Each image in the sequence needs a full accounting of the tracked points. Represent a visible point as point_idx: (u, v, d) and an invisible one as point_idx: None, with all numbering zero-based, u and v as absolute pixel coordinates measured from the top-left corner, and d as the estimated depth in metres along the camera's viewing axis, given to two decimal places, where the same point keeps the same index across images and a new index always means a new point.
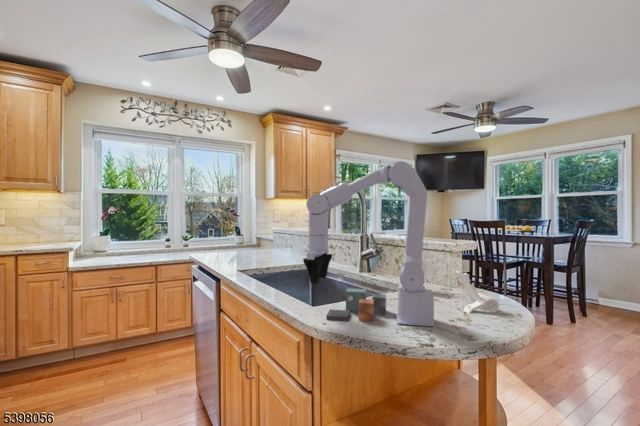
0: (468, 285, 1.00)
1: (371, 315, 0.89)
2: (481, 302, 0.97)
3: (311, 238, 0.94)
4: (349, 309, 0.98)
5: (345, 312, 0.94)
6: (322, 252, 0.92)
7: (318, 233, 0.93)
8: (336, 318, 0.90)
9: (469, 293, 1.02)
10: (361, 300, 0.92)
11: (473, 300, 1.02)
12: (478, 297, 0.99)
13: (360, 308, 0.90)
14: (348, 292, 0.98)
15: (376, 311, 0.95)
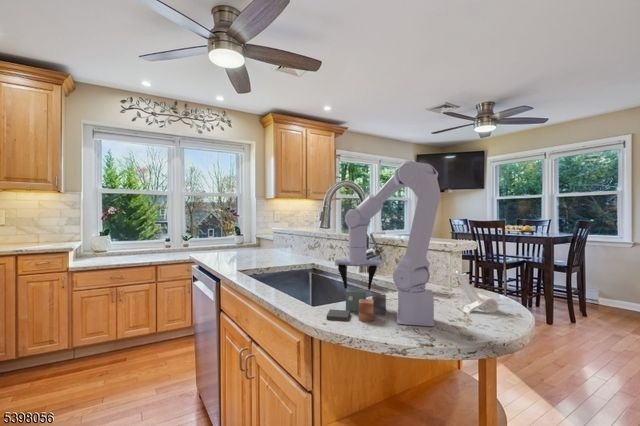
0: (467, 285, 0.99)
1: (371, 315, 0.89)
2: (480, 302, 0.97)
3: None
4: (349, 309, 0.98)
5: (345, 312, 0.94)
6: (347, 262, 1.03)
7: (353, 245, 1.02)
8: (336, 318, 0.90)
9: (468, 293, 1.02)
10: (361, 300, 0.92)
11: (472, 300, 1.02)
12: (477, 297, 0.99)
13: (360, 308, 0.90)
14: (348, 292, 0.98)
15: (376, 311, 0.95)
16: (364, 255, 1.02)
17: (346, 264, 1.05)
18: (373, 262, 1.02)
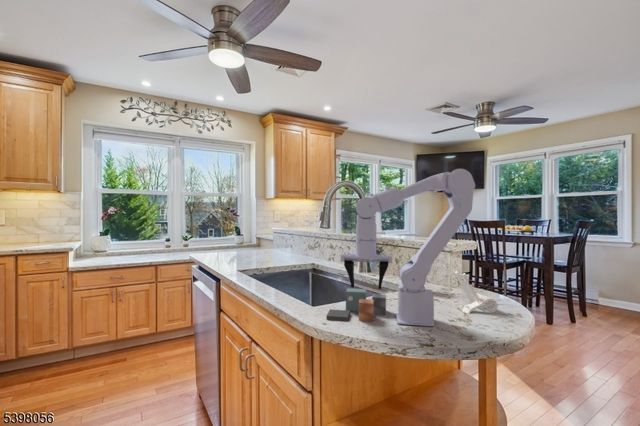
0: (467, 285, 0.99)
1: (371, 315, 0.89)
2: (480, 302, 0.97)
3: None
4: (349, 309, 0.98)
5: (345, 312, 0.94)
6: (355, 257, 0.90)
7: (368, 238, 0.88)
8: (336, 318, 0.90)
9: (467, 293, 1.02)
10: (361, 300, 0.92)
11: (471, 300, 1.02)
12: (477, 297, 0.99)
13: (360, 308, 0.90)
14: (348, 292, 0.98)
15: (376, 311, 0.95)
16: (374, 249, 0.89)
17: (353, 260, 0.92)
18: (384, 257, 0.89)
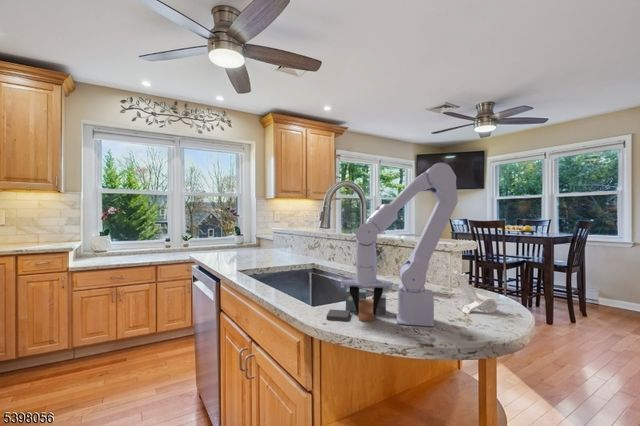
0: (466, 285, 0.99)
1: (371, 315, 0.89)
2: (479, 302, 0.97)
3: None
4: (349, 309, 0.98)
5: (345, 312, 0.94)
6: (355, 284, 0.90)
7: (368, 265, 0.88)
8: (336, 318, 0.90)
9: (467, 293, 1.02)
10: (361, 300, 0.92)
11: (471, 300, 1.02)
12: (476, 297, 0.99)
13: (360, 307, 0.90)
14: (348, 292, 0.98)
15: (376, 311, 0.95)
16: (374, 276, 0.89)
17: (353, 286, 0.92)
18: (384, 284, 0.89)
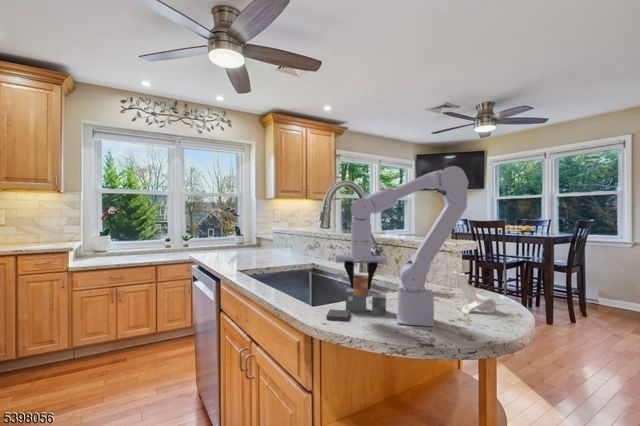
0: (466, 285, 0.99)
1: (365, 290, 0.89)
2: (479, 302, 0.97)
3: None
4: (349, 309, 0.98)
5: (345, 312, 0.94)
6: (350, 258, 0.90)
7: (363, 239, 0.89)
8: (336, 318, 0.90)
9: (466, 293, 1.02)
10: (356, 275, 0.92)
11: (470, 300, 1.02)
12: (476, 297, 0.99)
13: (355, 282, 0.90)
14: (348, 292, 0.98)
15: (376, 311, 0.95)
16: (369, 250, 0.89)
17: (348, 261, 0.92)
18: (378, 258, 0.89)
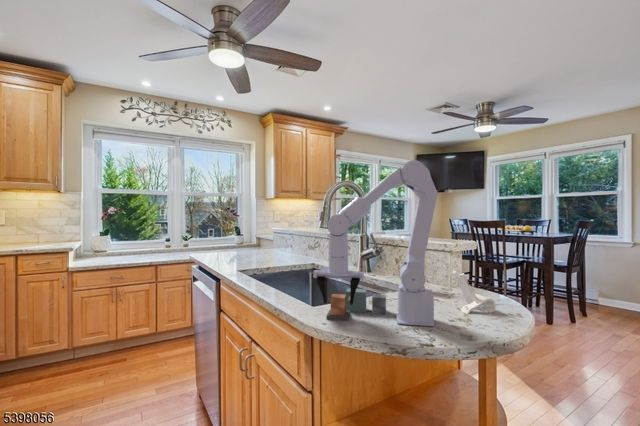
0: (465, 285, 0.99)
1: (342, 309, 0.91)
2: (478, 302, 0.96)
3: None
4: (349, 309, 0.98)
5: None
6: (327, 274, 0.91)
7: (339, 255, 0.90)
8: (336, 318, 0.90)
9: (465, 293, 1.02)
10: (333, 295, 0.94)
11: (469, 300, 1.02)
12: (475, 297, 0.98)
13: (332, 302, 0.91)
14: (348, 292, 0.98)
15: (376, 311, 0.95)
16: (345, 266, 0.91)
17: (326, 276, 0.93)
18: (355, 274, 0.90)
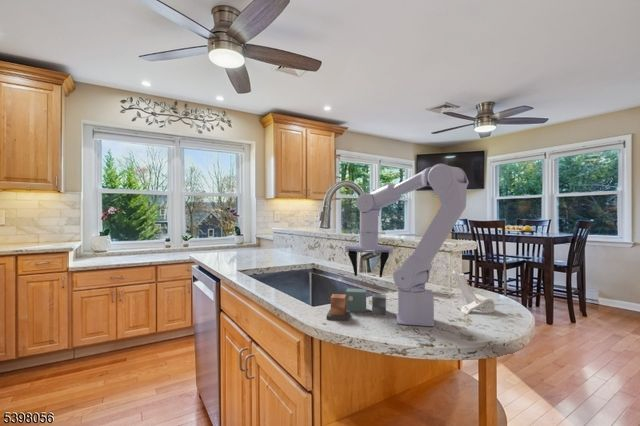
0: (465, 286, 0.99)
1: (342, 309, 0.91)
2: (478, 302, 0.96)
3: None
4: (349, 309, 0.98)
5: None
6: (358, 248, 0.98)
7: (365, 230, 0.97)
8: (336, 318, 0.90)
9: (465, 294, 1.01)
10: (333, 295, 0.94)
11: (468, 300, 1.02)
12: (474, 297, 0.98)
13: (332, 302, 0.91)
14: (348, 292, 0.98)
15: (376, 311, 0.95)
16: (376, 241, 0.98)
17: (357, 250, 1.00)
18: (385, 248, 0.97)
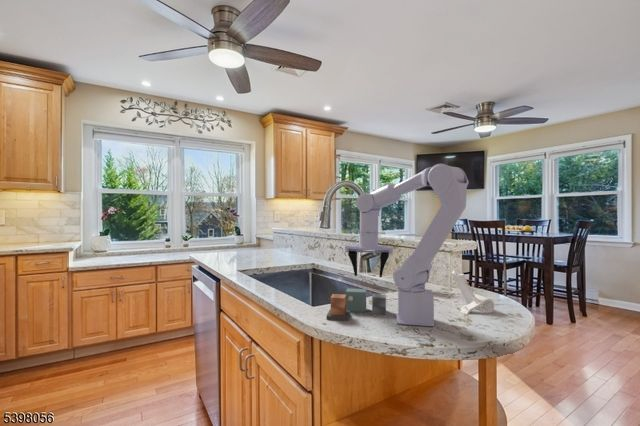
0: (464, 286, 0.99)
1: (342, 309, 0.91)
2: (478, 303, 0.96)
3: None
4: (349, 309, 0.98)
5: None
6: (358, 248, 0.98)
7: (365, 230, 0.97)
8: (336, 318, 0.90)
9: (464, 294, 1.01)
10: (333, 295, 0.94)
11: (468, 301, 1.01)
12: (474, 298, 0.98)
13: (332, 302, 0.91)
14: (348, 292, 0.98)
15: (376, 311, 0.95)
16: (376, 241, 0.98)
17: (357, 250, 1.00)
18: (385, 248, 0.97)
